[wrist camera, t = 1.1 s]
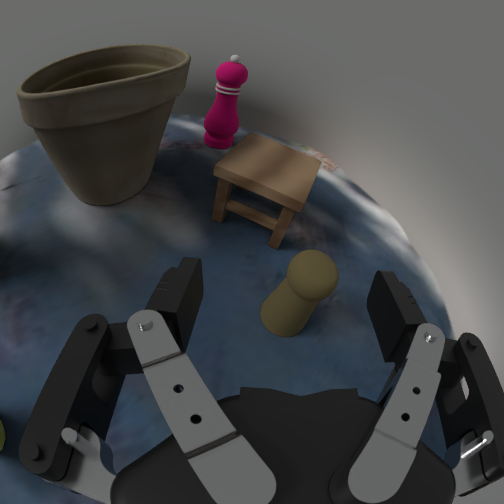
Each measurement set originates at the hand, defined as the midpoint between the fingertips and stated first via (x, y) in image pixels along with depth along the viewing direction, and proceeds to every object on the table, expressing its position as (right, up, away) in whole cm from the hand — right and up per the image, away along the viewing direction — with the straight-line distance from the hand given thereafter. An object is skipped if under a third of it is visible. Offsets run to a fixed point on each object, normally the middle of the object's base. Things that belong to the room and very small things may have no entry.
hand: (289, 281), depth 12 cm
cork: (+2, -7, +22) cm, 23 cm away
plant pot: (-26, +14, +30) cm, 42 cm away
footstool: (-1, +8, +32) cm, 33 cm away
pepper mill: (-9, +25, +43) cm, 51 cm away
